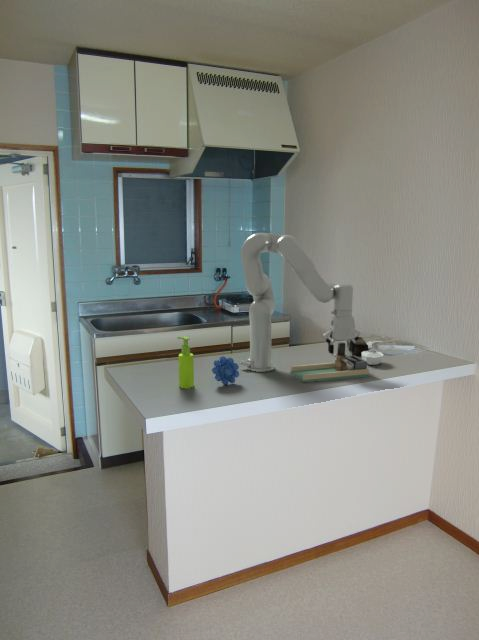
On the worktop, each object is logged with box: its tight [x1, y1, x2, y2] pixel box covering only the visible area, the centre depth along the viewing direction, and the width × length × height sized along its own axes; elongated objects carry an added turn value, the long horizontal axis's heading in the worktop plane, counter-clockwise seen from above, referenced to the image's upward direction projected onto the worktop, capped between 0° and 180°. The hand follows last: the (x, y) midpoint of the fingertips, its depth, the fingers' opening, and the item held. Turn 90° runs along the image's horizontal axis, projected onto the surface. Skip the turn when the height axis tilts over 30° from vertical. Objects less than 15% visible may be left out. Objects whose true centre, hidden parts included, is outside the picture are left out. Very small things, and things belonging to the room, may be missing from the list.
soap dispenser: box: [176, 336, 195, 389], centre depth 203 cm, size 6×7×20 cm
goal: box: [345, 354, 368, 370], centre depth 222 cm, size 6×11×6 cm, turn 17°
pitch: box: [289, 361, 369, 384], centre depth 219 cm, size 30×14×3 cm, turn 107°
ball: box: [347, 364, 354, 371], centre depth 221 cm, size 4×4×4 cm
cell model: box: [361, 348, 384, 366], centre depth 236 cm, size 10×12×7 cm
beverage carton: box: [346, 336, 369, 357], centre depth 258 cm, size 8×19×7 cm, turn 176°
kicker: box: [329, 342, 353, 371], centre depth 219 cm, size 3×19×12 cm, turn 17°
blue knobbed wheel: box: [211, 355, 240, 386], centre depth 204 cm, size 12×7×12 cm, turn 112°
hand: (341, 352), depth 219 cm, fingers open, 9 cm apart
